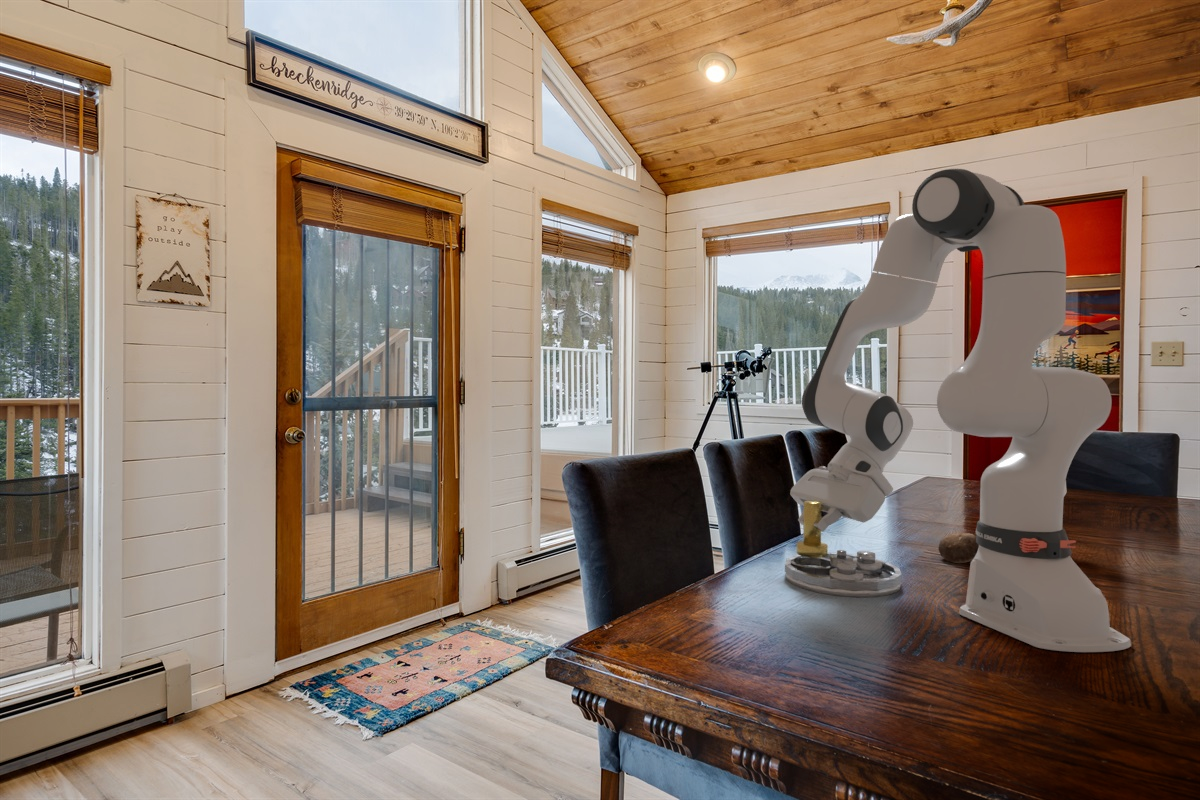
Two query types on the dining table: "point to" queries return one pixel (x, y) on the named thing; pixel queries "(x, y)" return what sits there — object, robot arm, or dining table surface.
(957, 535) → the brown rounded lump
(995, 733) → the dining table surface
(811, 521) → the yellow peg
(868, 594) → the carrier
